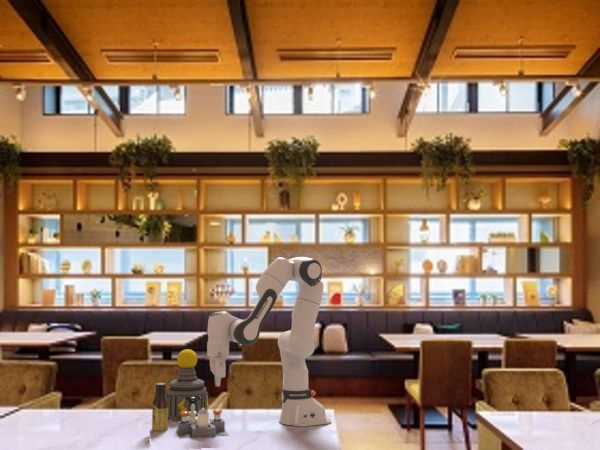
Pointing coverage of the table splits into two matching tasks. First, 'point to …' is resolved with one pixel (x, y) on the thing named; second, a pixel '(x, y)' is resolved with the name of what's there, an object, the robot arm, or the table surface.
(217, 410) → the plunger
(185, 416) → the plunger
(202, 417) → the cylinder
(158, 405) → the sauce bottle
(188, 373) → the decorative lamp
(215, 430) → the housing
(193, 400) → the valve
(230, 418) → the table surface
